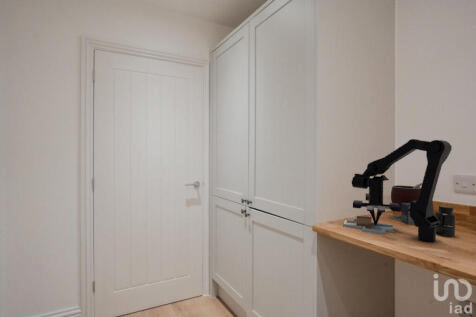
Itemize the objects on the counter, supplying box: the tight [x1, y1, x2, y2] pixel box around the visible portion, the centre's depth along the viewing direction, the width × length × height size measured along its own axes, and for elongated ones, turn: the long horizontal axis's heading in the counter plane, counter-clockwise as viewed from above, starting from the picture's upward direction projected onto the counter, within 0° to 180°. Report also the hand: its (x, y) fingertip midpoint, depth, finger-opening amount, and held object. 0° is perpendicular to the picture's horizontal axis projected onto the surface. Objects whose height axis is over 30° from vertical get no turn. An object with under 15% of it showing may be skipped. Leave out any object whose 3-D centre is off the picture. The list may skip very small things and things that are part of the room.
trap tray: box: [342, 218, 395, 235], centre depth 122 cm, size 20×19×2 cm
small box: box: [400, 203, 415, 226], centre depth 129 cm, size 11×6×10 cm, turn 84°
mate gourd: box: [390, 182, 422, 222], centre depth 141 cm, size 16×14×20 cm
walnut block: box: [356, 215, 372, 230], centre depth 123 cm, size 5×6×4 cm
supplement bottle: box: [435, 205, 457, 238], centre depth 115 cm, size 7×7×12 cm
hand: (375, 224), depth 121 cm, fingers closed
